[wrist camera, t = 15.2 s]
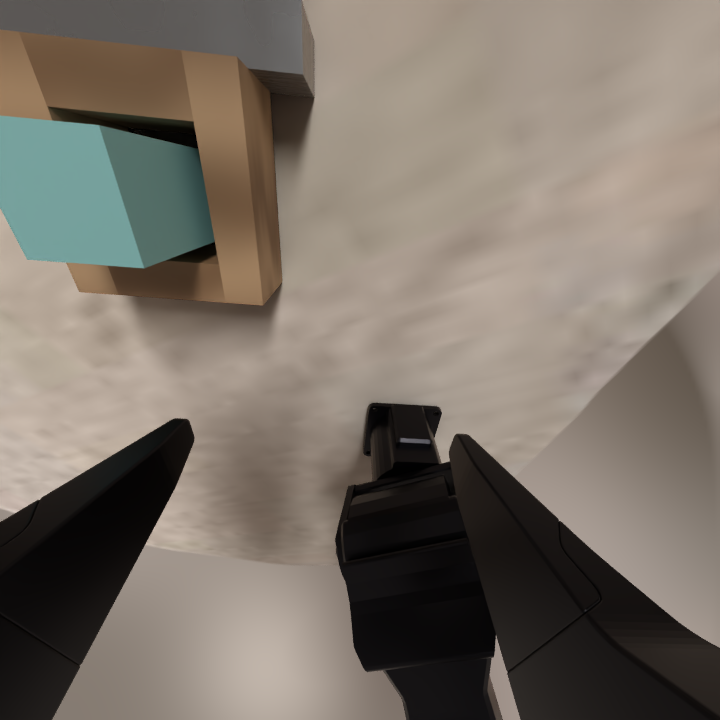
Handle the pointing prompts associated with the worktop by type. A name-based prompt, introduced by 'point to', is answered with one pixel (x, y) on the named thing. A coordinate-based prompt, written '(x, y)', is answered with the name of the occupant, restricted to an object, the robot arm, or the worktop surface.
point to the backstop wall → (187, 31)
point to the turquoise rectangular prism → (100, 194)
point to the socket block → (175, 114)
